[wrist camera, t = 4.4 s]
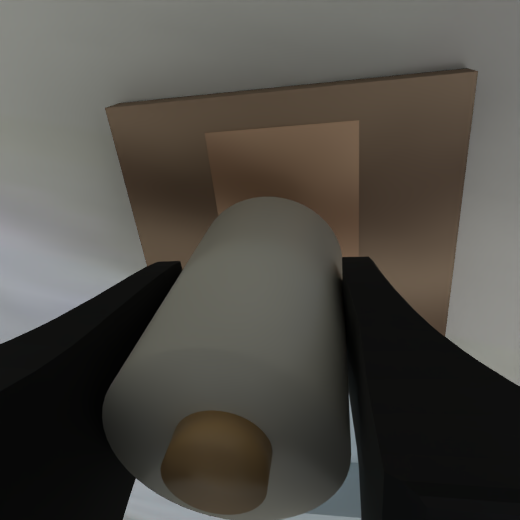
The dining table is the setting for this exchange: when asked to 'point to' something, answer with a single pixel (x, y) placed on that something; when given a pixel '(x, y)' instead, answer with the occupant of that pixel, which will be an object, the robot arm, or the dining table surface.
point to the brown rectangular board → (312, 168)
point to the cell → (242, 372)
